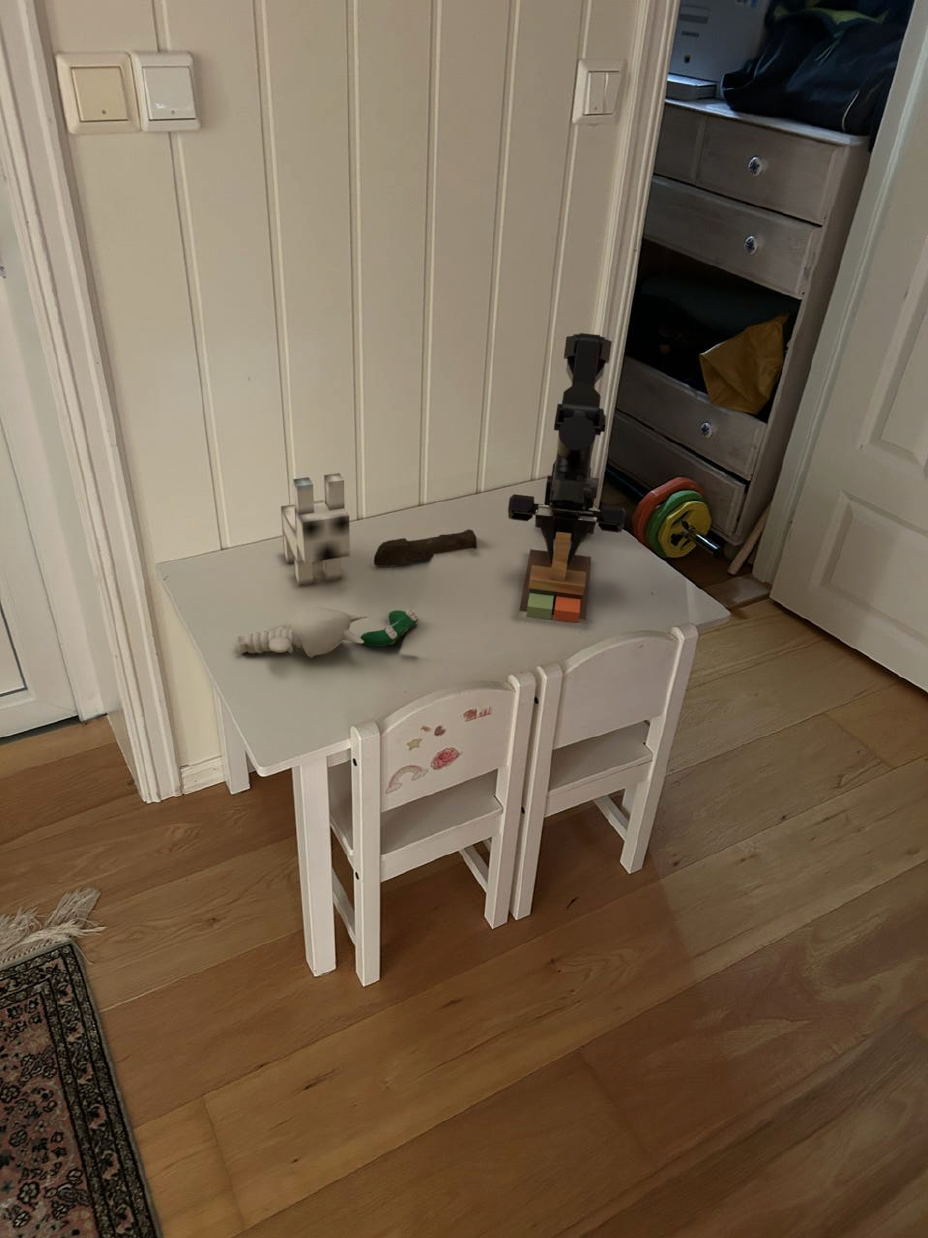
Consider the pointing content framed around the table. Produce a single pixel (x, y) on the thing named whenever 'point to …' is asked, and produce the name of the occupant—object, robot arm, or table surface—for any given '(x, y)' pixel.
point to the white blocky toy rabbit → (316, 529)
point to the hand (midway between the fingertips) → (559, 564)
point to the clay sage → (540, 606)
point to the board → (543, 560)
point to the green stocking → (391, 629)
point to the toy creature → (304, 633)
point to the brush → (558, 574)
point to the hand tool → (422, 548)
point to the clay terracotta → (567, 609)
